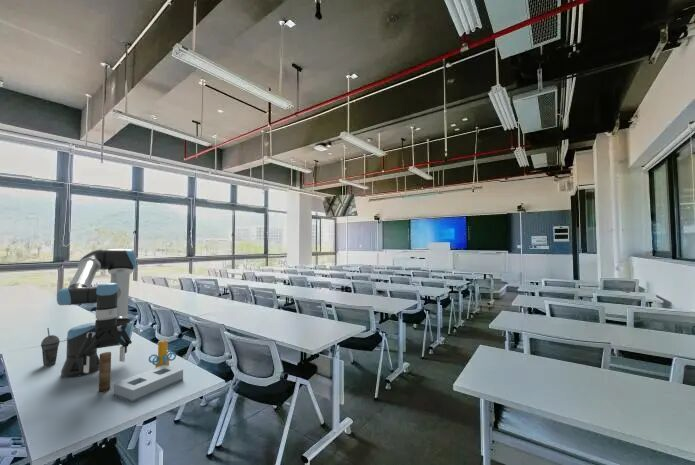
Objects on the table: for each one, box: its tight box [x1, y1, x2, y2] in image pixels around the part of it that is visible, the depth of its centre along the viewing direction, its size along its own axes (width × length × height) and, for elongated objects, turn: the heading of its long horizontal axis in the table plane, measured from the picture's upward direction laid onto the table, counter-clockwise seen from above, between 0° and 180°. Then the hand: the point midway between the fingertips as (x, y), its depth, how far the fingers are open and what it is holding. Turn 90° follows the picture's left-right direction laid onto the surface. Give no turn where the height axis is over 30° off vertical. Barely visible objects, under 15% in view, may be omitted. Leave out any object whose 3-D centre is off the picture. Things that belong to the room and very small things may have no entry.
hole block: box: [112, 365, 184, 404], centre depth 133 cm, size 14×22×5 cm, turn 155°
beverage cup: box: [40, 327, 61, 367], centre depth 159 cm, size 7×7×20 cm
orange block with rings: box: [148, 339, 177, 368], centre depth 152 cm, size 12×10×15 cm
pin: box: [98, 351, 112, 393], centre depth 131 cm, size 4×4×16 cm
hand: (104, 366), depth 131 cm, fingers open, 13 cm apart
